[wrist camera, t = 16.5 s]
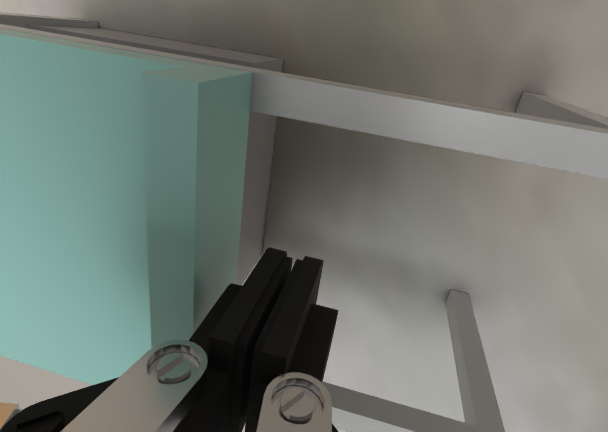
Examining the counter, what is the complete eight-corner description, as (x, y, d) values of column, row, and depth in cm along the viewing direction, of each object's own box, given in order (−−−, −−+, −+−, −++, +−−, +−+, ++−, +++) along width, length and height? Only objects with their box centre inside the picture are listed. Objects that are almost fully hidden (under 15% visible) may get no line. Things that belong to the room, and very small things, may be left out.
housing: (81, 19, 21) (-156, 0, 12) (546, 95, 18) (694, 149, 9) (100, 217, 26) (-57, 307, 17) (463, 307, 23) (502, 478, 14)
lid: (-124, 6, 12) (-278, -5, 9) (252, 72, 10) (198, 82, 7) (-32, 317, 17) (-114, 368, 14) (227, 397, 15) (189, 472, 13)
